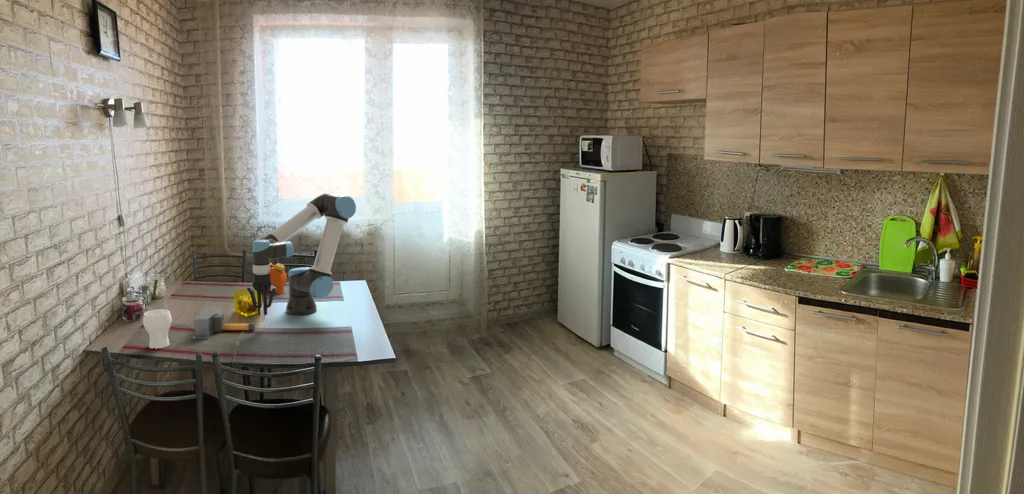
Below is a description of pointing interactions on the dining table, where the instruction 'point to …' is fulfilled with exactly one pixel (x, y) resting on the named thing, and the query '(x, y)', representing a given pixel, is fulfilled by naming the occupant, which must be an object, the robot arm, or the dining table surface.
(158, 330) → the cup
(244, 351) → the dining table surface
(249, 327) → the hammer
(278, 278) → the alarm clock
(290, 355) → the dining table surface
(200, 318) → the housing
